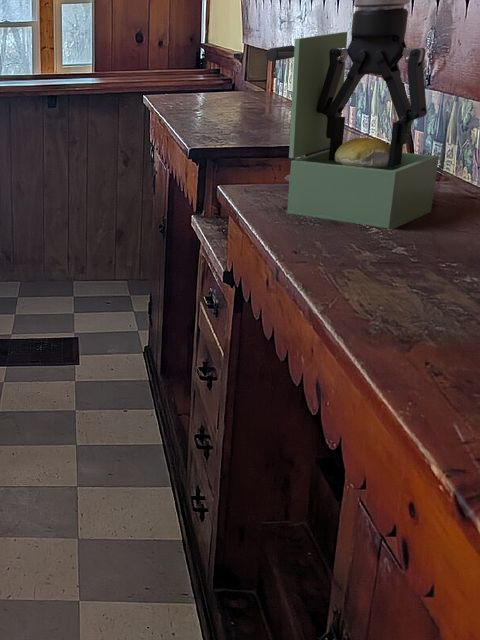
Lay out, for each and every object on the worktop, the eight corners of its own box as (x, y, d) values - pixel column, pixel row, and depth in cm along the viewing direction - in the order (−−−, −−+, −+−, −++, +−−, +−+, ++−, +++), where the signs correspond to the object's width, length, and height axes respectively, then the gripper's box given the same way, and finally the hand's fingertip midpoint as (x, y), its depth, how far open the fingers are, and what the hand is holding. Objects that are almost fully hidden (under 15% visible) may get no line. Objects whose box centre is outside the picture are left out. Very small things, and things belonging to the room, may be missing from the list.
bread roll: (375, 157, 140) (378, 132, 139) (400, 167, 132) (404, 140, 131) (324, 160, 140) (327, 135, 139) (347, 170, 132) (350, 144, 130)
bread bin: (431, 212, 138) (439, 155, 134) (388, 231, 129) (396, 171, 125) (332, 198, 149) (337, 146, 146) (286, 216, 140) (290, 160, 137)
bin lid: (347, 31, 139) (300, 33, 145) (299, 38, 130) (251, 40, 136) (339, 144, 146) (294, 141, 151) (293, 158, 137) (247, 155, 142)
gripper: (468, 4, 122) (444, 165, 131) (324, 8, 137) (312, 152, 146) (446, 7, 117) (423, 173, 126) (300, 11, 132) (288, 159, 141)
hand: (363, 162), depth 136 cm, fingers closed on bread roll, 9 cm apart
